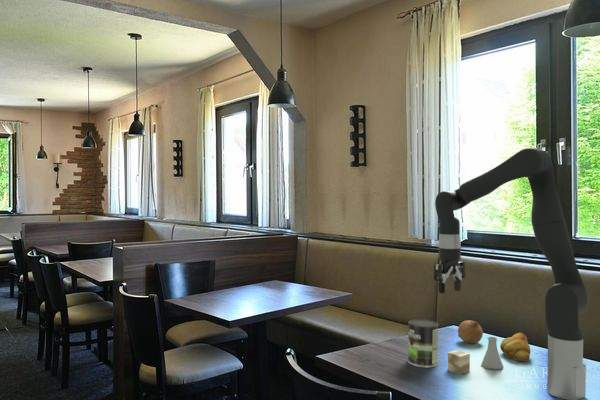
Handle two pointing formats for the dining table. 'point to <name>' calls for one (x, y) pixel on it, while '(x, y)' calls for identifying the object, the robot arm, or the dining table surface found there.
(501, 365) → the flask
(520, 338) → the bread roll
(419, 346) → the coffee can
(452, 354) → the maple block
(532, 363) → the dining table surface
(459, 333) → the onion
